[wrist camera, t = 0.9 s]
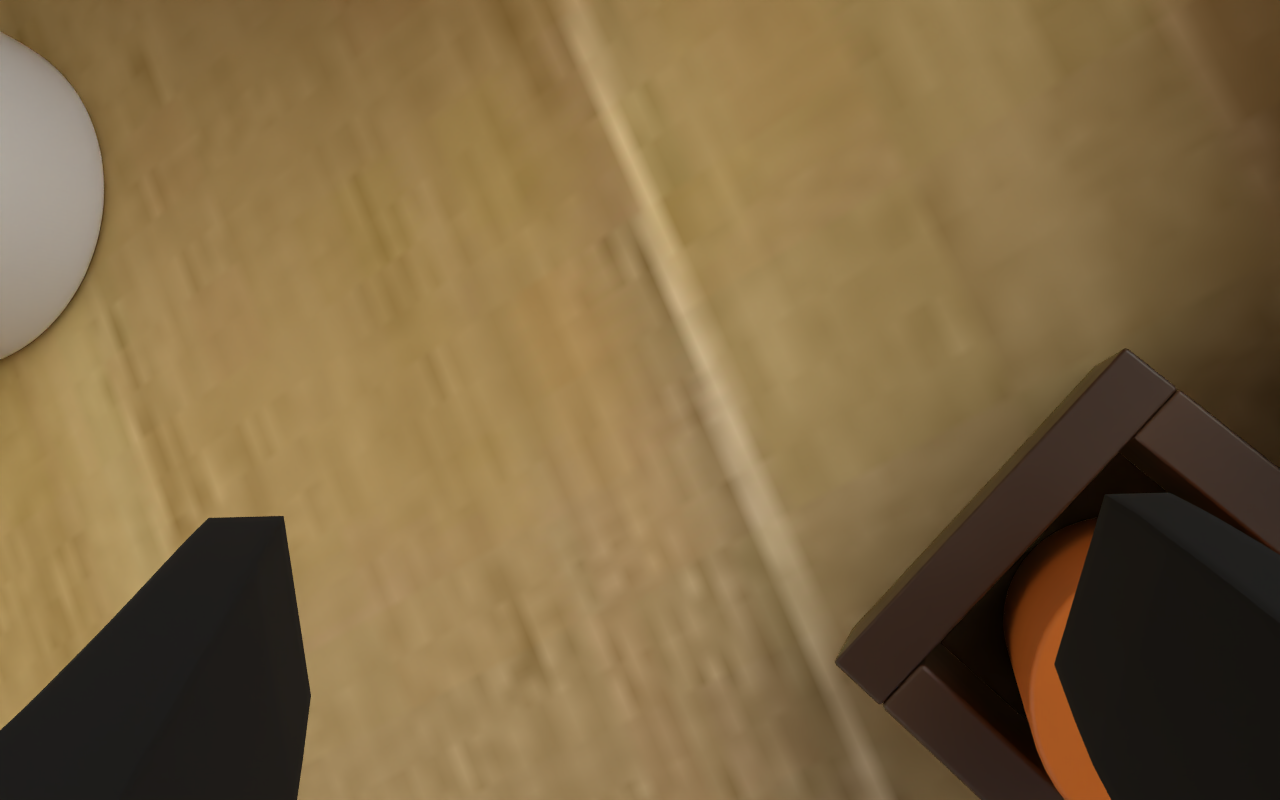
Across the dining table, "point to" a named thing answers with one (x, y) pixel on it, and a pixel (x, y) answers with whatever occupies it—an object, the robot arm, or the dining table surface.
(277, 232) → the dining table surface
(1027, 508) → the holder
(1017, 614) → the orange cylinder
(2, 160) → the white cup
